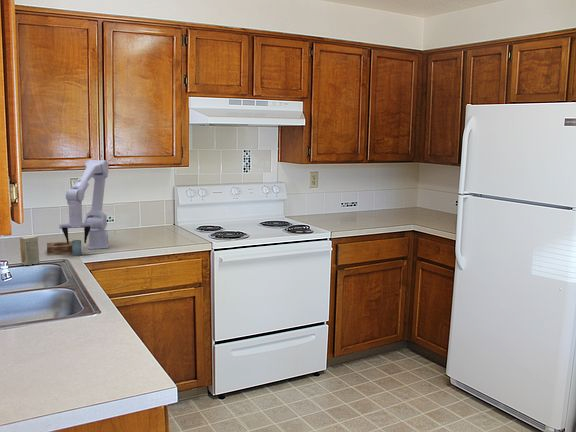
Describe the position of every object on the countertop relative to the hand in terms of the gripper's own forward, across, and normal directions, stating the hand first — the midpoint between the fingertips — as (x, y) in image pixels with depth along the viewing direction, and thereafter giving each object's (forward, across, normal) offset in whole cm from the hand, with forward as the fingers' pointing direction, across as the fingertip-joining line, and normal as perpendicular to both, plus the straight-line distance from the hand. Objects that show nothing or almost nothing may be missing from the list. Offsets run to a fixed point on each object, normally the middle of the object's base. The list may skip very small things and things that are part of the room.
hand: (76, 243), depth 269 cm
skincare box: (+6, -20, -13) cm, 24 cm away
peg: (+6, 0, 0) cm, 6 cm away
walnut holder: (+6, -7, +10) cm, 14 cm away
